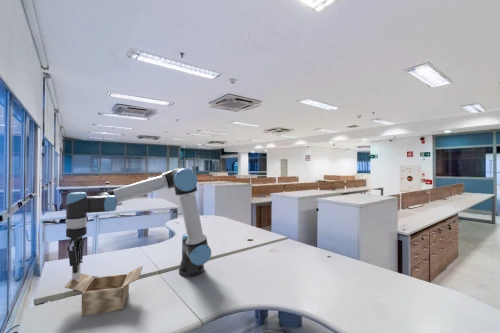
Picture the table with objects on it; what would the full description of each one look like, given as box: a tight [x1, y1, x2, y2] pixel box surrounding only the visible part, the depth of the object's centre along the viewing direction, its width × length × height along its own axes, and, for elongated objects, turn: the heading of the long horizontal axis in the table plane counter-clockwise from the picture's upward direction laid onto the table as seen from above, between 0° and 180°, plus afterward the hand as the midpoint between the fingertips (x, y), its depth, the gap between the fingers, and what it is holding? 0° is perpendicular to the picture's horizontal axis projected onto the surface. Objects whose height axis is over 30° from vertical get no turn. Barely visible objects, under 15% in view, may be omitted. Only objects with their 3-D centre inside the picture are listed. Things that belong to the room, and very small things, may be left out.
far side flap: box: [64, 272, 93, 293], centre depth 108 cm, size 1×14×7 cm
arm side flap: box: [123, 265, 144, 287], centre depth 115 cm, size 1×14×7 cm
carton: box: [81, 273, 130, 317], centre depth 112 cm, size 16×15×10 cm
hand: (76, 278), depth 108 cm, fingers closed
